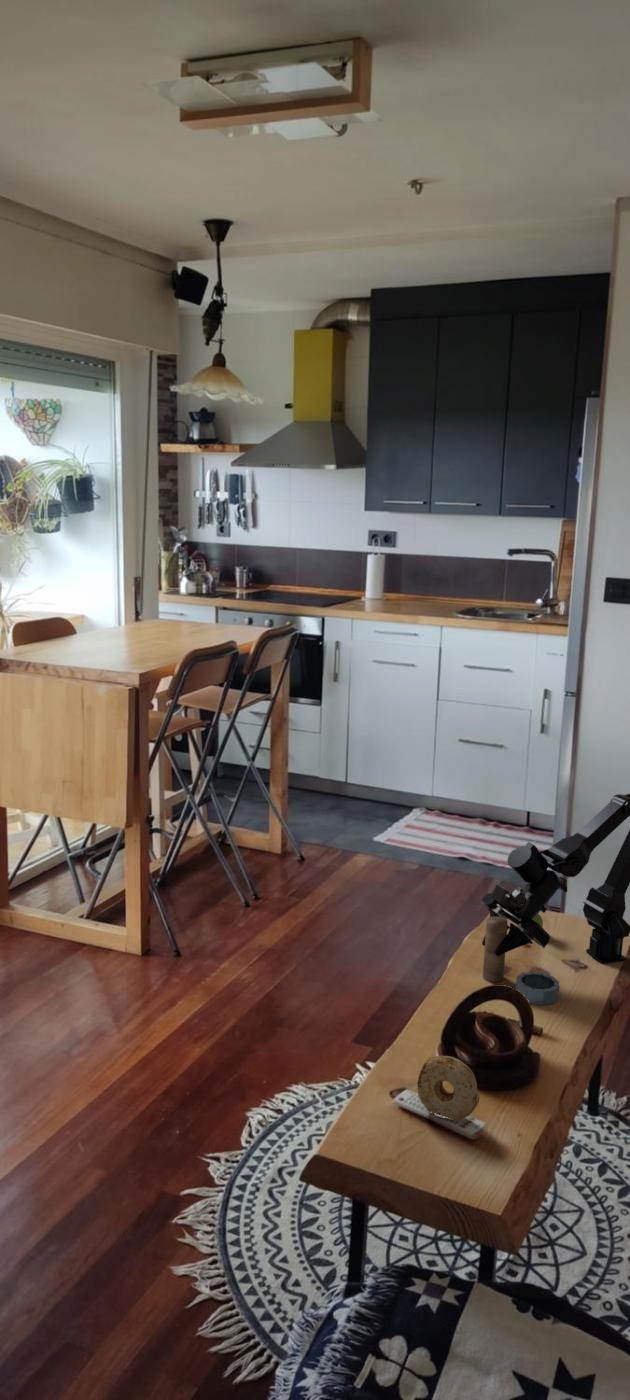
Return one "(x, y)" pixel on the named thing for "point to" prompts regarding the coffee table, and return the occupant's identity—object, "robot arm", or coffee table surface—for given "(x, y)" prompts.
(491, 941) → the walnut shaft
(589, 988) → the coffee table surface
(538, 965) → the coffee table surface
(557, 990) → the metal collar
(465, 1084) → the stone disc
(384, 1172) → the coffee table surface
